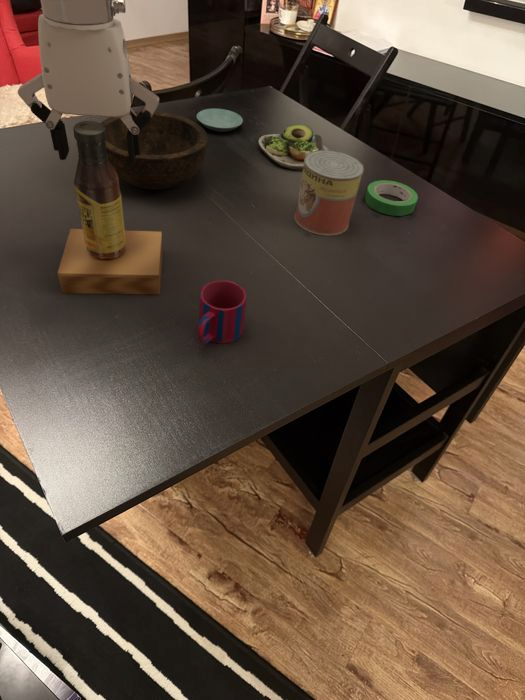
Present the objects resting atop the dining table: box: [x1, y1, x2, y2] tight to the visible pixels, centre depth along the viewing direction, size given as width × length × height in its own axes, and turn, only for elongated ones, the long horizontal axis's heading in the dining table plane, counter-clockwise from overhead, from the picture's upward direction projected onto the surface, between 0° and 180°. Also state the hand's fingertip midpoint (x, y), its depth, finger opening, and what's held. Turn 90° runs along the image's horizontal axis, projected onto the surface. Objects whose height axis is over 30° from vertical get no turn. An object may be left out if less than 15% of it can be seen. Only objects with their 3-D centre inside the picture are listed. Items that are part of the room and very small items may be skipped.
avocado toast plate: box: [257, 123, 329, 171], centre depth 115 cm, size 19×18×5 cm
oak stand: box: [57, 228, 164, 295], centre depth 79 cm, size 15×12×4 cm
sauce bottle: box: [72, 120, 126, 259], centre depth 70 cm, size 6×6×20 cm
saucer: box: [196, 108, 244, 133], centre depth 123 cm, size 12×12×2 cm
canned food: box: [294, 149, 365, 237], centre depth 94 cm, size 11×11×12 cm
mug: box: [196, 279, 248, 344], centre depth 70 cm, size 7×10×7 cm
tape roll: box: [364, 179, 419, 217], centre depth 105 cm, size 11×11×3 cm
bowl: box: [100, 111, 209, 190], centre depth 98 cm, size 22×22×10 cm
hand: (99, 157), depth 66 cm, fingers open, 8 cm apart
